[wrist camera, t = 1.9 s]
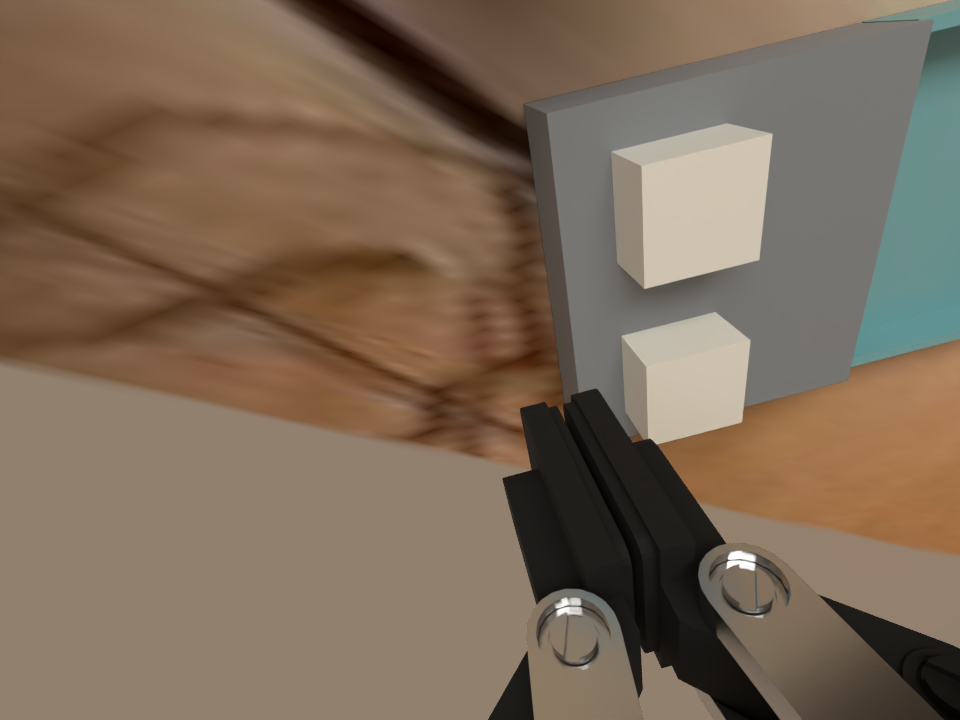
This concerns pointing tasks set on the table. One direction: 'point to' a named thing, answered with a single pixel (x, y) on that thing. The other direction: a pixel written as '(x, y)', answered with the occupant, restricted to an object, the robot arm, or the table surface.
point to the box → (922, 210)
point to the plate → (788, 207)
